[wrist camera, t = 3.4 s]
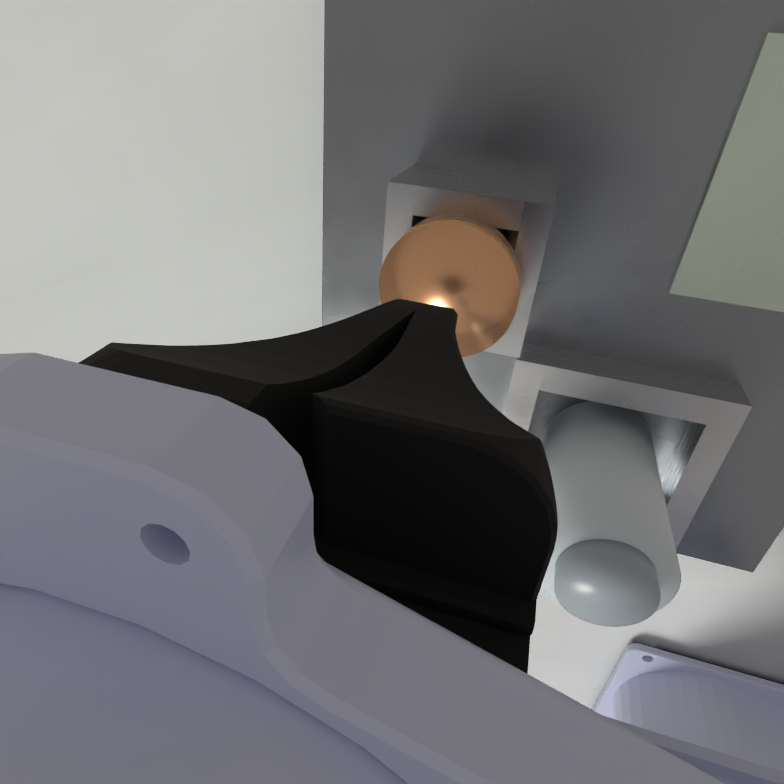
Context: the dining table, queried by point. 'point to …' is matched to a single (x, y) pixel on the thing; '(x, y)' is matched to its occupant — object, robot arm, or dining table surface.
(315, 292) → the dining table surface
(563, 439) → the cylinder
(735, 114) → the housing
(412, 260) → the plunger
